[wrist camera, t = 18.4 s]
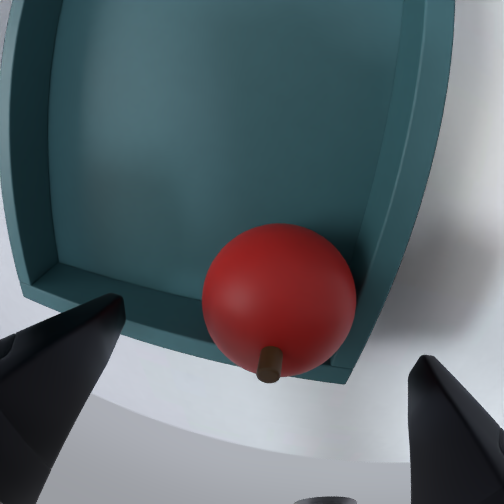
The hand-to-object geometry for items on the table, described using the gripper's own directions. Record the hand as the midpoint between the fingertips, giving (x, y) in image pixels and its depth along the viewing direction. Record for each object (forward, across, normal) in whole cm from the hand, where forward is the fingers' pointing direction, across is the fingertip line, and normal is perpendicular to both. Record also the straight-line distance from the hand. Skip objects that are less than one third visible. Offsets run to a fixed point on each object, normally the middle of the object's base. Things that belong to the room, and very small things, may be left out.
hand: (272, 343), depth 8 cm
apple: (+5, 0, 0) cm, 5 cm away
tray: (+5, +4, -17) cm, 19 cm away
